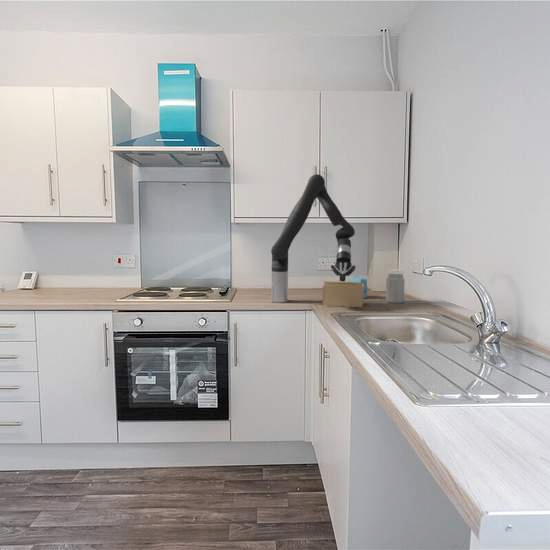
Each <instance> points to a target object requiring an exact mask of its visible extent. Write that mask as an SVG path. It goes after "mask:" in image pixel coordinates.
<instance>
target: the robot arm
mask: <svg viewBox="0 0 550 550" xmlns="http://www.w3.org/2000/svg"><path fill="white" fill-rule="evenodd" d="M325 184H326V181H325V178H324V177H323V176H322V175H321V174H312V176H310V177H309V178H308V180H307V184H306V186H305V188H304V191H303V192H302V195H301V197H300V198H299V200H298V201H297V202H296V204H295V205H294V207H293V208H292V210H291V212H290V214H289V216H288V218H287V220H286V222H285V224H284V227H283V229H282V232H281V234H280V235H279V237H278V239H276V241H275V243H274V244H273V246H272V247H271V250H270V252H271V302H272V303H287V302H288V301H289V250H290V247H291V245H292V243H293V241H294V239H295V237H296V236H297V235H298V233H299V232H300V231H301V230H302V228H303V226H304V225H305V223H306V221H307V218H308V217H309V215H310V213H311V210H312V207H313V204H314V202H315V200H316V199H318V201H319V203H320V204H321V207H322V208H323V210H324V212H325V214H326V216H327V218H328V219H329V221H330V222H331V225H333V226H334V227H337V226H341V228H339V229H337V230H336V232H335V237H336V238H335V239H336V242H337V249H336V259H335V263H334V265H333V264H332V265H330V269H331V271H332V272H333V273H334V274H335V275H336V276H337V277H338V276H339V281H346V277H347V276H350V275H351V274H352V273H353V272H354V271H356V265H353V264H352V241H351V240H350V238H352V237H354V236H355V232H356V231H355V228H354V227H353V225H351V224H350V223H349V221H347V220H346V218H345V217H344V216H343V215H342V213H341V211H340V210H339V207H338V206H337V205H336V204H335V202H334V201H333V199H332V198H331V196H330V195H329V193H328V190H327V187H326V185H325Z"/></svg>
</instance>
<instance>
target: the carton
mask: <svg viewBox="0 0 550 550" xmlns="http://www.w3.org/2000/svg"><path fill="white" fill-rule="evenodd" d="M362 295H363V298H362ZM364 299H365V298H364V284H363V283H361V286H343V285H325V284H324V283H323V285H322V304H323V306H324V305H328V306H327V307H339V306H345V308H363V306H364V301H365V300H364Z"/></svg>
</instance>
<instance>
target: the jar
mask: <svg viewBox="0 0 550 550" xmlns="http://www.w3.org/2000/svg"><path fill="white" fill-rule="evenodd" d="M385 279H386V282H385V285H386V286H385V302H387V303H388V302H390V303H389V304H397V303H398V304H403V303H404V301H405V283H406V282H405V281H406V280H405V278H404V270H403V269H388V270H387V277H386V278H385ZM402 302H403V303H402Z"/></svg>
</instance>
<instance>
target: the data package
mask: <svg viewBox="0 0 550 550" xmlns="http://www.w3.org/2000/svg"><path fill="white" fill-rule="evenodd" d="M349 282H361V283H363V284H364V299H366V298H367V297H368V295H367V294H368V279H367V278H365V277H360V276H351V277H350V278H349ZM362 299H363V295H362Z"/></svg>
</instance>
